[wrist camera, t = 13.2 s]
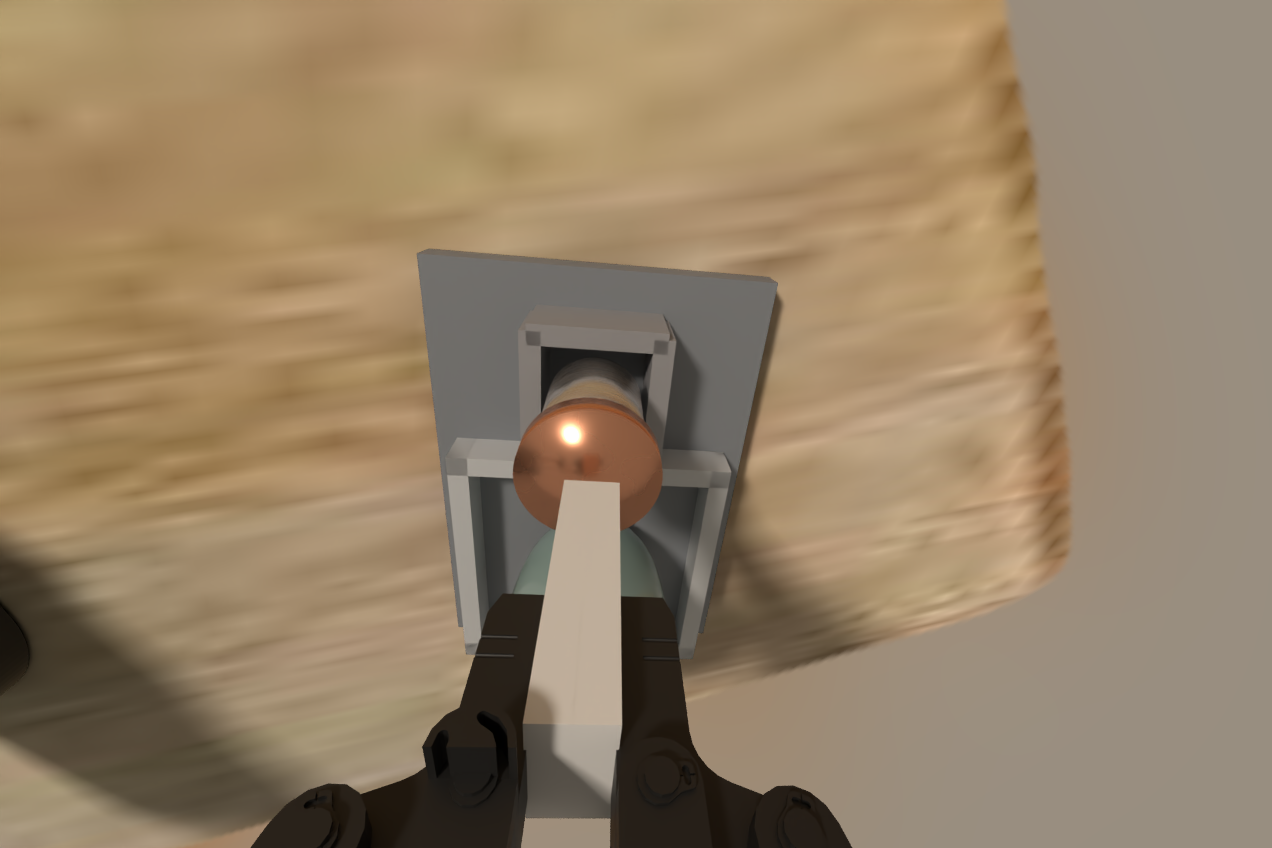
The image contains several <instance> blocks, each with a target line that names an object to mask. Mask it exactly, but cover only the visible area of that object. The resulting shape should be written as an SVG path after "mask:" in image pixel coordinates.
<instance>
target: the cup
mask: <svg viewBox="0 0 1272 848" xmlns="http://www.w3.org/2000/svg"><path fill="white" fill-rule="evenodd" d="M555 531H556V530H554V529H552V528H551V529H550V530H548V531H547V532H546V533H545V534H544V535H543V536H542V537H541V538H540V539H539V540H538V542H537V543H536V544H535V545H534V546H533V548H532V550H531V551H530V553H529V555H528V557H527V558H526V560H525V562H524V564H523V566H522V568H521V570H520V573H519V575H518V578H517V581H516V583H515V586H514V589H513V592H512V594H535V595H545V590H546V584H547V578H548V572H549V567H550V561H551V555H552V549H553V543H554V537H555ZM620 577H621V596H630V597H658V598H663V599H664V601H665V598H664V593H663V588H662V584H661V579H660V576H659V573H658V569H657V567H656V564H655V562H654V560H653V557H652V555H651V553H650V551H649V549H648V548H647V546H646V545H645V543H644V542H643V541H642V540H641V538H640V537H639V536H638V535H637V534H636V533H634V532H633V531H632V530H631V529H630V528H629V527H628V528H626V529H624V530H622V531H620Z"/></svg>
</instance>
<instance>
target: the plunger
mask: <svg viewBox="0 0 1272 848" xmlns="http://www.w3.org/2000/svg"><path fill="white" fill-rule="evenodd" d="M564 480H577V481H596V482H615V483H620V531H622V530H624V529H626V528H628V527H630V526H632V525H633V524H635V523H637V522H638V521H639V520H640V519H642V518H643V517H644V516H645V515H646V514H647V513H648V512H649V511H650V509H651V508H652V507H653V505H654V504H655V502H656V500H657V498H658V496H659V493H660V491H661V486H662V480H663V471H662V463H661V457H660V451H659V447H658V443H657V440H656V438H655V435H654V434H653V432H652V430H651V429H650V427H649V426H648V425H647V423H646V422H645V421H644V418H643V410H642V402H641V394H640V390H639V387H638V384H637V382H636V380H635V379H634V377H633V376H632V374H631V373H630V372H629V371H628V370H627V369H626V368H624V367H623V366H622V365H620V364H618V363H617V362H615V361H612V360H609V359H606V358H600V357H587V358H582V359H578V360H575V361H573V362H571V363H569V364H567V365H566V366H564V367H563V368H562V369H561V370H560V371H559V372H558V373H557V374H556V376H555V377H554V379H553V380H552V382H551V385H550V388H549V391H548V394H547V398H546V401H545V404H544V408H543V411H542V413H540V414H539V415H538V416H537V417H536V418H535V419H534V420H533V421H532V422H531V423H530V425H529V426H528V427H527V429H526V431H525V432H524V434H523V436H522V439H521V442H520V445H519V447H518V450H517V453H516V456H515V460H514V464H513V482H514V486H515V490H516V492H517V495H518V497H519V499H520V501H521V502H522V504H523V506H524V507H525V508H526V509H527V510H528V512H529V513H530V514H531V515H532V516H533V517H535V518H536V519H537V520H538V521H540V522H541V523H542V524H544V525H546V526H548V527H550V528H552V529H554V530H556V526H557V520H558V514H559V508H560V502H561V496H562V490H563V484H564Z"/></svg>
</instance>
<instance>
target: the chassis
mask: <svg viewBox="0 0 1272 848" xmlns="http://www.w3.org/2000/svg"><path fill="white" fill-rule="evenodd" d="M417 259H418V268H419V277H420V286H421V295H422V304H423V313H424V322H425V331H426V340H427V349H428V358H429V367H430V376H431V385H432V394H433V402H434V411H435V420H436V429H437V438H438V447H439V456H440V465H441V474H442V483H443V492H444V501H445V510H446V519H447V528H448V537H449V545H450V554H451V563H452V572H453V581H454V590H455V599H456V608H457V617H458V626H459V627H463V630H464V639H465V649H466V654H471V655H475V654H476V650H477V646H478V643H479V639H480V638H481V633H482V629H483V626H484V622H485V619H486V616H487V612H488V611H489V610H490V608H491V607H492V606H493V605H494V604H495V602H496V601H497V600H498V599H499V597H500V596H501V595H502V594H503V593H506V594H512V592H513V589H514V586H515V583H516V581H517V578H518V575H519V573H520V570H521V568H522V566H523V564H524V562H525V560H526V558H527V557H528V555H529V553H530V551H531V550H532V548H533V546H534V545H535V544H536V543H537V542H538V540H539V539H540V538H541V537H542V536H543V535H544V534H545V533H546V532H547V531H548V530H550V529H551V528H550V527H548V526H546V525H544V524H542V523H541V522H540V521H538V520H537V519H536V518H535V517H533V516H532V515H531V514H530V513H529V512H528V510H527V509H526V508H525V507H524V506H523V504H522V502H521V501H520V499H519V497H518V495H517V492H516V490H515V486H514V482H513V464H514V460H515V456H516V453H517V450H518V447H519V445H520V442H521V439H522V436H523V434H524V432H525V431H526V429H527V427H528V426H529V425H530V423H531V422H532V421H533V420H534V419H535V418H536V417H537V416H538V415H539V414H540V413H542V411H543V408H544V404H545V401H546V398H547V394H548V391H549V388H550V385H551V382H552V380H553V379H554V377H555V376H556V374H557V373H558V372H559V371H560V370H561V369H562V368H563V367H564V366H566V365H567V364H569V363H571V362H573V361H575V360H578V359H582V358H587V357H600V358H606V359H609V360H612V361H615V362H617V363H618V364H620V365H622V366H623V367H624V368H626V369H627V370H628V371H629V372H630V373H631V374H632V376H633V377H634V379H635V380H636V382H637V384H638V387H639V390H640V394H641V402H642V410H643V418H644V421H645V422H646V423H647V425H648V426H649V427H650V429H651V430H652V432H653V434H654V435H655V438H656V440H657V443H658V447H659V451H660V457H661V463H662V471H663V480H662V486H661V491H660V493H659V496H658V498H657V500H656V502H655V504H654V505H653V507H652V508H651V509H650V511H649V512H648V513H647V514H646V515H645V516H644V517H643V518H642V519H640V520H639V521H638V522H637V523H635V524H633V525H632V526H630V527H629V528H630V529H631V530H632V531H633V532H634V533H636V534H637V535H638V536H639V537H640V538H641V540H642V541H643V542H644V543H645V545H646V546H647V548H648V549H649V551H650V553H651V555H652V557H653V560H654V562H655V564H656V567H657V569H658V573H659V576H660V579H661V584H662V588H663V593H664V598H665V602H666V604H667V606H668V607H669V609H670V610H671V612H672V614H673V615H674V618H675V626H676V633H677V643H678V649H679V656H680V657H679V659H693V655H694V650H695V646H696V641H697V636H698V633H703V631H704V626H705V622H706V617H707V612H708V608H709V603H710V598H711V594H712V589H713V584H714V580H715V575H716V570H717V566H718V561H719V556H720V552H721V547H722V542H723V538H724V533H725V528H726V524H727V519H728V514H729V510H730V505H731V500H732V496H733V491H734V486H735V482H736V477H737V472H738V468H739V463H740V458H741V454H742V449H743V444H744V440H745V435H746V430H747V426H748V421H749V417H750V412H751V407H752V403H753V398H754V393H755V389H756V384H757V379H758V375H759V370H760V365H761V361H762V356H763V351H764V347H765V342H766V337H767V333H768V328H769V323H770V319H771V314H772V309H773V305H774V300H775V295H776V291H777V286H778V283H777V282H775V281H774V280H772V279H771V278H769V277H762V276H750V275H738V274H726V273H714V272H702V271H690V270H678V269H666V268H654V267H642V266H630V265H618V264H606V263H594V262H582V261H570V260H558V259H546V258H534V257H522V256H510V255H498V254H486V253H474V252H462V251H450V250H438V249H427V250H424V251H422V252H419V253H417Z"/></svg>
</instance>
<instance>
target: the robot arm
mask: <svg viewBox="0 0 1272 848" xmlns="http://www.w3.org/2000/svg"><path fill="white" fill-rule="evenodd" d="M679 657H680V656H679V649H678V643H677V633H676V626H675V618H674V615H673V614H672V612H671V610H670V609H669V607H668V606H667V604H666V602H665V601H664V599H663V598H658V597H630V596H621V577H620V483H615V482H596V481H577V480H564V484H563V490H562V496H561V502H560V508H559V514H558V520H557V526H556V531H555V537H554V543H553V549H552V555H551V561H550V567H549V572H548V578H547V584H546V590H545V595H535V594H506V593H503V594H502V595H501V596H500V597H499V599H498V600H497V601H496V602H495V604H494V605H493V606H492V607H491V608H490V610H489V611H488V612H487V616H486V619H485V622H484V626H483V629H482V633H481V638H480V639H479V643H478V646H477V650H476V654H475V658H474V660H473V663H472V667H471V670H470V673H469V677H468V680H467V684H466V687H465V690H464V694H463V697H462V701H461V704H460V707H459V708H458V709H456V710H454V711H452V712H450V713H448V714H446V715H445V716H444V717H443V718H442V719H441V720H440V721H439V722H438V723H437V724H436V725H435V726H434V727H433V728H432V730H431V731H430V733H429V735H428V737H427V739H426V741H425V743H424V745H423V746H422V748H423V753H424V758H425V763H426V767H425V768H423V769H422V770H421V771H419V772H418V773H416V774H415V775H413V776H410V777H408V778H406V779H404V780H401V781H399V782H396V783H393V784H390V785H387V786H384V787H381V788H378V789H375V790H372V791H369V792H366V793H363V794H360V793H359V792H357V791H356V790H354V789H353V788H351V787H349V786H348V785H346V784H326V785H323V786H320V787H317V788H313V789H310V790H308V791H306V792H305V793H303V794H302V795H300V796H299V797H297V798H296V799H294V800H292V801H291V802H289V803H288V804H287V805H286V806H285V807H284V808H283V809H282V810H281V811H280V812H279V813H278V814H277V815H276V816H275V817H274V818H273V819H272V821H271V822H270V823H269V824H268V825H267V826H266V828H265V829H264V830H263V832H262V833H261V834H260V836H259V837H258V838H257V840H256V841H255V843H254V844H253V845H252V846H251V848H521V842H522V835H523V828H524V821H525V814H526V818H611V823H610V824H611V825H610V827H611V829H610V848H852V847H851V845H850V843H849V841H848V839H847V837H846V835H845V834H844V832H843V830H842V828H841V826H840V824H839V823H838V821H837V820H836V818H835V817H834V816H833V815H832V813H831V812H830V810H829V809H828V807H827V806H826V805H825V804H824V803H823V802H821V801H820V800H819V799H818V798H817V797H815V796H814V795H813V794H812V793H810V792H808V791H806V790H803V789H801V788H798V787H795V786H776V787H775V788H773V789H771V790H770V791H768V792H766V793H765V794H764V795H762V794H759V793H757V792H754V791H752V790H749V789H747V788H744V787H742V786H739V785H736V784H734V783H731V782H729V781H727V780H725V779H723V778H722V777H720V776H718V775H717V774H715V773H714V772H713V771H712V770H711V769H709V768H708V767H707V766H706V765H705V763H704V762H703V761H702V759H701V758H700V757H699V756H698V754H697V752H696V750H695V748H694V746H693V744H692V740H691V736H690V732H689V725H688V718H687V710H686V702H685V694H684V687H683V679H682V672H681V664H680V660H679ZM28 661H29V652H28V647H27V644H26V641H25V639H24V636H23V635H22V633H21V631H20V629H19V628H18V626H17V625H16V623H15V622H14V621H13V620H12V618H11V617H10V616H9V615H8V614H7V613H6V612H5V611H4V610H3V609H2V608H1V607H0V696H1V695H2V694H3V693H4V692H5V691H7V690H8V689H9V688H10V687H11V686H12V685H14V684H15V683H16V682H17V681H18V680H19V679H20V678H21V677H22V676H23V674H24V673H25V671H26V669H27V666H28Z"/></svg>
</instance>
